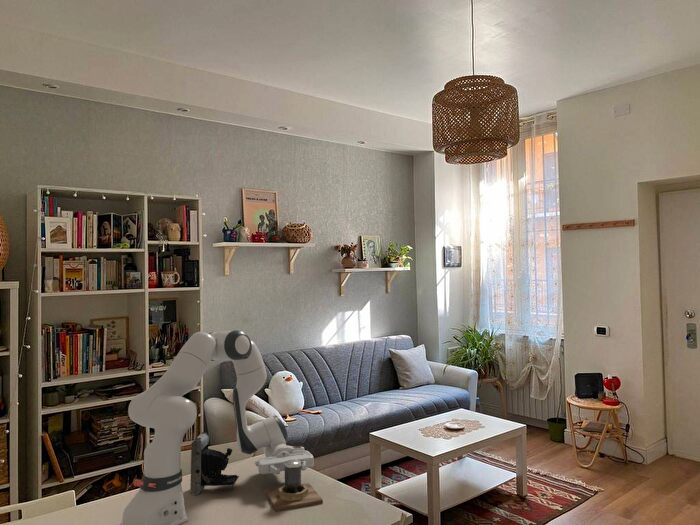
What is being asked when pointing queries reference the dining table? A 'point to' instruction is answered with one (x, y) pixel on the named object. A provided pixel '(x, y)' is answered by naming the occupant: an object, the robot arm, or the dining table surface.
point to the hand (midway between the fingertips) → (291, 470)
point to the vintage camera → (208, 466)
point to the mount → (293, 497)
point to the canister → (292, 476)
